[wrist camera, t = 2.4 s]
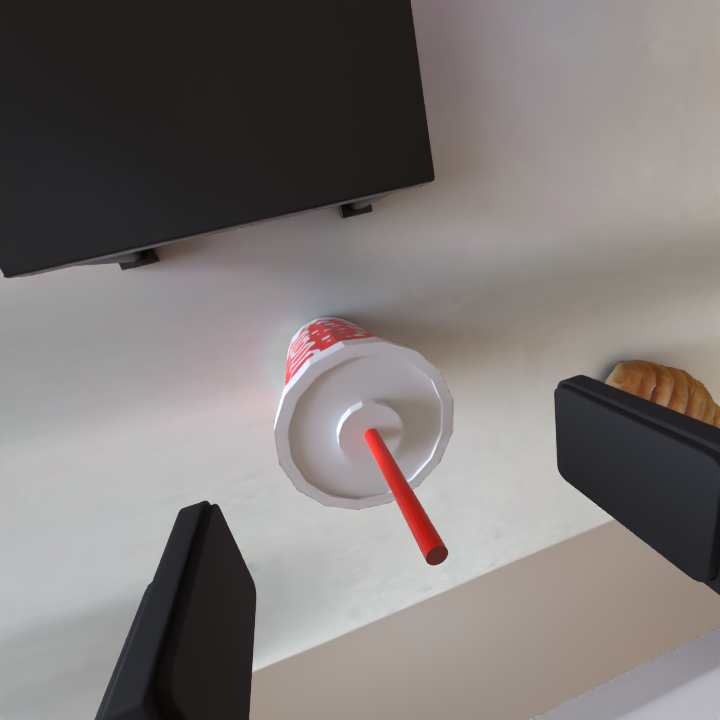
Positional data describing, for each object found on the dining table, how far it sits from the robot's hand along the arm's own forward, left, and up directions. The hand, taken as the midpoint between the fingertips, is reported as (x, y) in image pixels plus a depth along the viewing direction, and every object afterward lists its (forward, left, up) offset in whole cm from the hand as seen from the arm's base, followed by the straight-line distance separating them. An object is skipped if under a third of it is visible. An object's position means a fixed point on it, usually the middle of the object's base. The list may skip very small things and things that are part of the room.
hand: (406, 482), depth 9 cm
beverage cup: (0, 0, -12) cm, 12 cm away
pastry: (+11, +22, -12) cm, 27 cm away
